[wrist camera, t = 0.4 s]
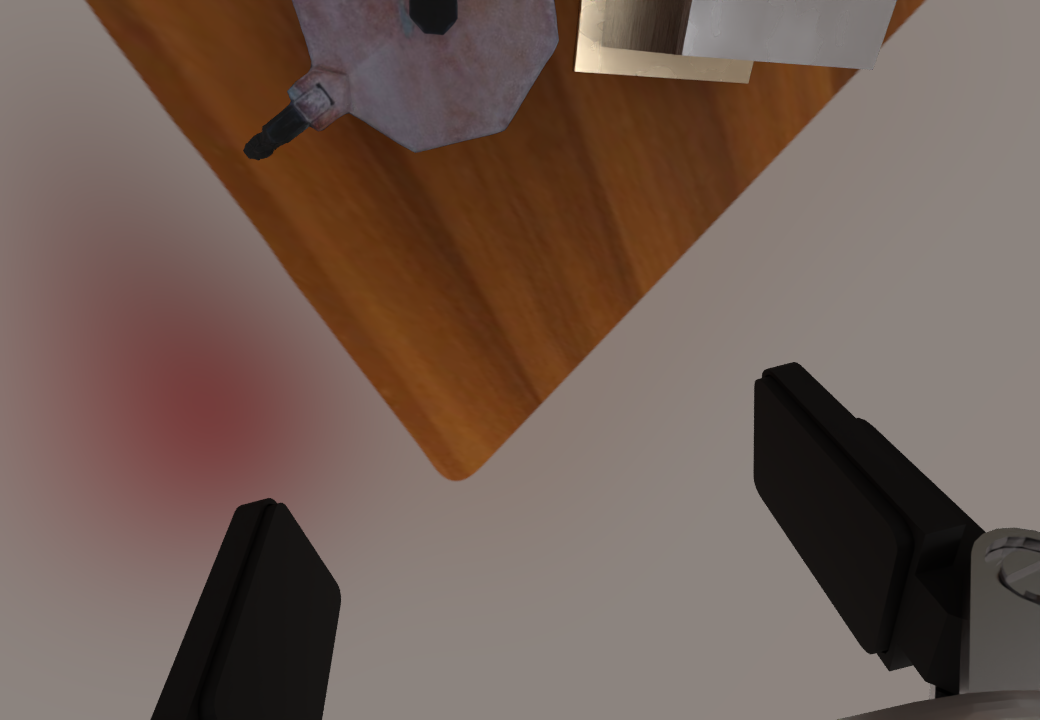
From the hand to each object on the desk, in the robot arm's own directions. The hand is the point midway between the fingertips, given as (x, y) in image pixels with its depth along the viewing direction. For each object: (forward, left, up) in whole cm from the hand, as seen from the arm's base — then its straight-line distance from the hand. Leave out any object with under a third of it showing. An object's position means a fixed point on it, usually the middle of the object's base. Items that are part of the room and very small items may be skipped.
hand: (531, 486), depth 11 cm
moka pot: (-7, -3, -32) cm, 33 cm away
